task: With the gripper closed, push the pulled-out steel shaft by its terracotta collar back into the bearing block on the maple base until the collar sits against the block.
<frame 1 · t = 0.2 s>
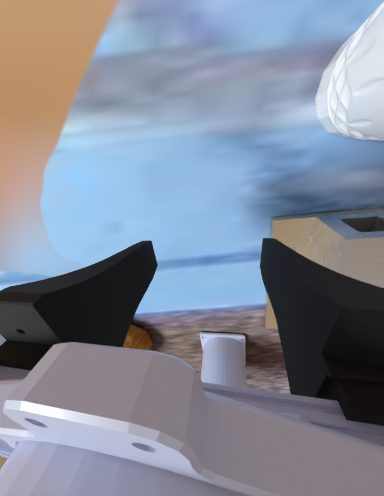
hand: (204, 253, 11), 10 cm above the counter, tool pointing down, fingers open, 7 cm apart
bearing block: (325, 278, 22), on the counter
croissant: (120, 333, 37), on the counter
white cup: (362, 86, 13), on the counter
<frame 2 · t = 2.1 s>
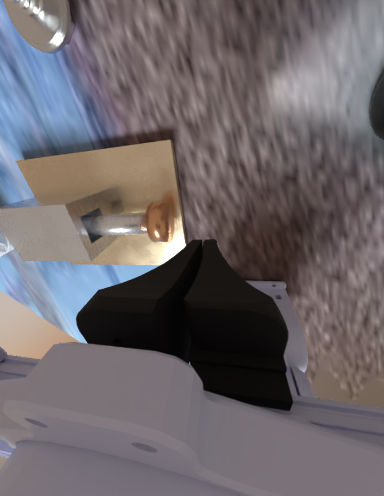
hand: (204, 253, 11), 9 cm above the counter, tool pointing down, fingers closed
bearing block: (113, 214, 22), on the counter
screw: (60, 22, 14), on the counter
shaft: (117, 224, 18), point 4 cm above the counter, slide at 6.5 cm
white cup: (4, 226, 26), on the counter
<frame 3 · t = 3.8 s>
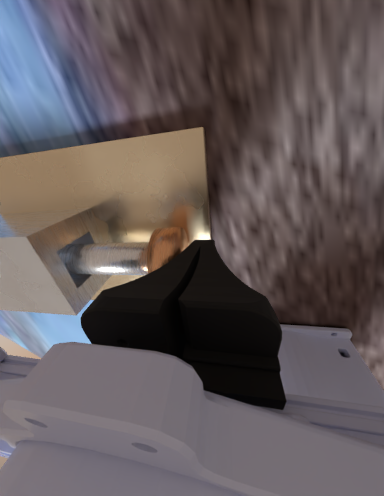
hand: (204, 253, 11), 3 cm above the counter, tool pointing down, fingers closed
bearing block: (110, 237, 15), on the counter
shaft: (105, 258, 12), point 3 cm above the counter, slide at 5.6 cm, touching gripper
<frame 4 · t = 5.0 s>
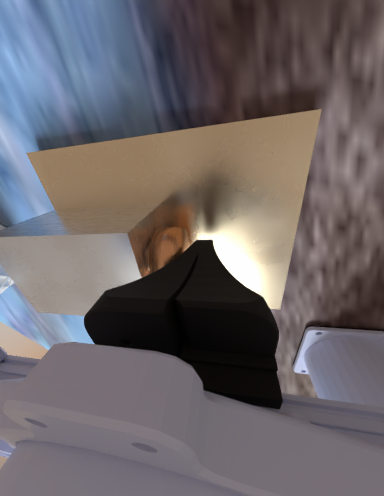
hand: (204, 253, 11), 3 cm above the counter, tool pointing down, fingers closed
bearing block: (172, 235, 14), on the counter
shaft: (106, 258, 12), point 3 cm above the counter, slide at 0.0 cm, touching gripper
white cup: (6, 247, 19), on the counter
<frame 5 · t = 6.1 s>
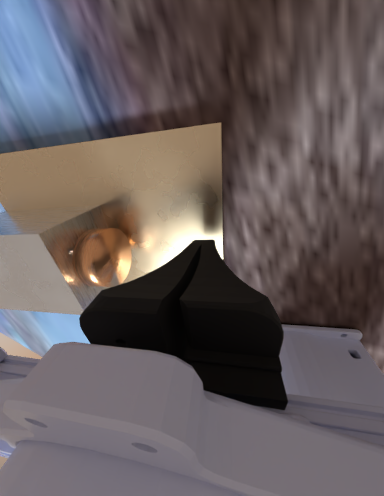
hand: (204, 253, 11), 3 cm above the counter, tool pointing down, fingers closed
bearing block: (119, 235, 15), on the counter
shaft: (48, 257, 13), point 3 cm above the counter, slide at 0.0 cm
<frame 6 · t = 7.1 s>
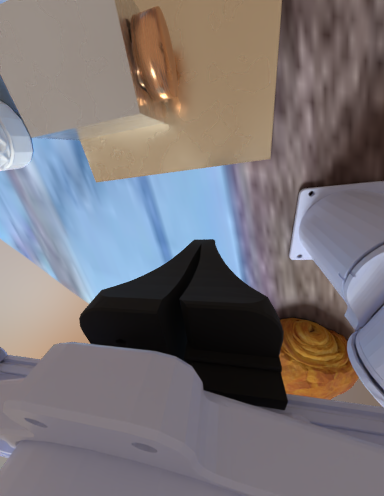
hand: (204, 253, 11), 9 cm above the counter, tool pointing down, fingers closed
bearing block: (160, 81, 15), on the counter
croissant: (293, 345, 29), on the counter
shaft: (95, 78, 12), point 3 cm above the counter, slide at 0.0 cm
white cup: (7, 135, 20), on the counter
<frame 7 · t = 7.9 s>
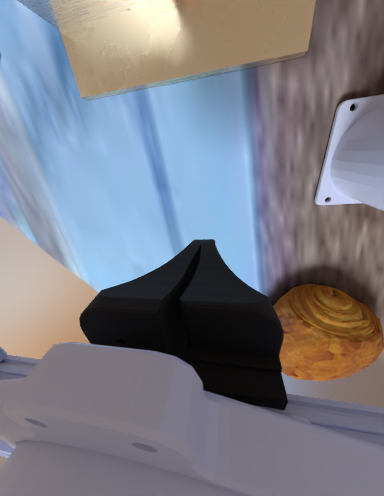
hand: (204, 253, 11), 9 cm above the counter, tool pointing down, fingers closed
croissant: (305, 319, 26), on the counter
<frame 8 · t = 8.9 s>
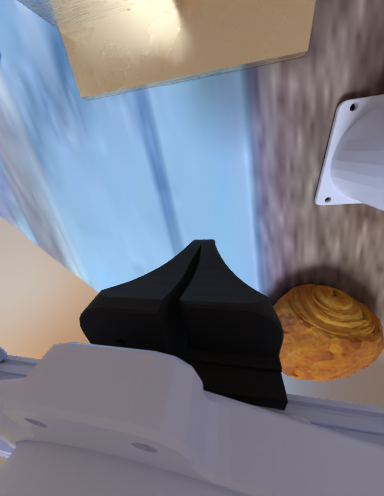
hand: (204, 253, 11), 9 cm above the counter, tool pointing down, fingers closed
croissant: (305, 319, 26), on the counter
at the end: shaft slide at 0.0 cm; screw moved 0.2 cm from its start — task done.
